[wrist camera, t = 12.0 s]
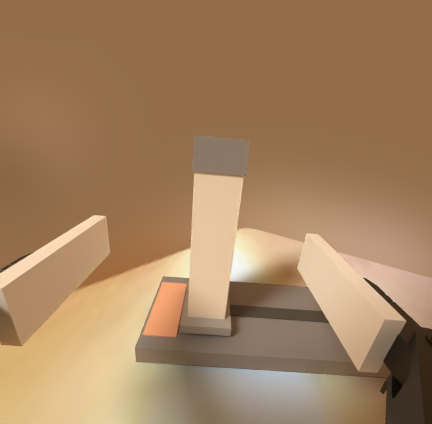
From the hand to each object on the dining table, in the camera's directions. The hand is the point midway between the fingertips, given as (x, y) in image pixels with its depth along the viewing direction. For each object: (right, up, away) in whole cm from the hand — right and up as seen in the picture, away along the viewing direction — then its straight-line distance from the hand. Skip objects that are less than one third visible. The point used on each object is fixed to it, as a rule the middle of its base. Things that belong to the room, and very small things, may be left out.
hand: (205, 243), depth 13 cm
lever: (0, -7, +5) cm, 8 cm away
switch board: (+7, -9, +6) cm, 13 cm away
